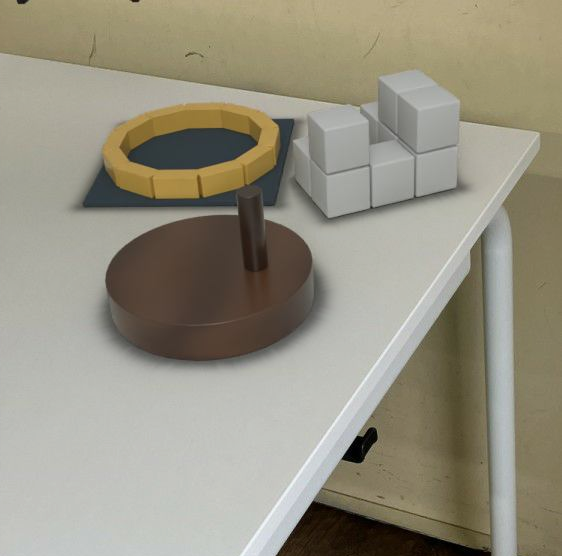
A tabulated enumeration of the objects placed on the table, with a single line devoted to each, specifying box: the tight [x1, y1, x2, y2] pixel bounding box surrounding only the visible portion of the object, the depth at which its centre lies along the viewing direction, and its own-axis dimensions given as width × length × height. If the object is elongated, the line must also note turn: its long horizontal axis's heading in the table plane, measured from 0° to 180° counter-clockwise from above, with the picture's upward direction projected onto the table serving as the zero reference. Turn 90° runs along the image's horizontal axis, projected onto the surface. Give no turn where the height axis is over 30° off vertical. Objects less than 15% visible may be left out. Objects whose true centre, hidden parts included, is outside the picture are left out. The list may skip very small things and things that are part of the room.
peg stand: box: [104, 185, 315, 361], centre depth 73 cm, size 15×15×9 cm
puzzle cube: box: [292, 68, 461, 219], centre depth 87 cm, size 12×12×8 cm
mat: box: [82, 118, 295, 208], centre depth 94 cm, size 17×17×1 cm
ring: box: [101, 101, 281, 199], centre depth 93 cm, size 16×16×2 cm
